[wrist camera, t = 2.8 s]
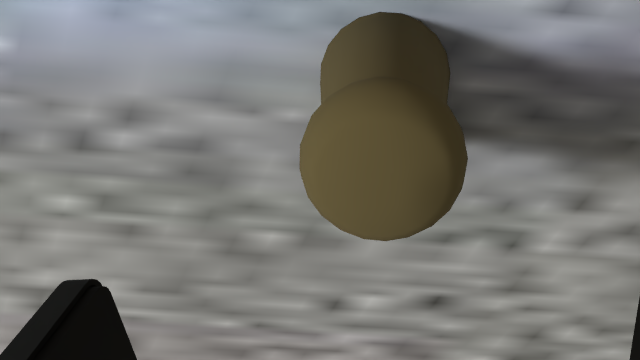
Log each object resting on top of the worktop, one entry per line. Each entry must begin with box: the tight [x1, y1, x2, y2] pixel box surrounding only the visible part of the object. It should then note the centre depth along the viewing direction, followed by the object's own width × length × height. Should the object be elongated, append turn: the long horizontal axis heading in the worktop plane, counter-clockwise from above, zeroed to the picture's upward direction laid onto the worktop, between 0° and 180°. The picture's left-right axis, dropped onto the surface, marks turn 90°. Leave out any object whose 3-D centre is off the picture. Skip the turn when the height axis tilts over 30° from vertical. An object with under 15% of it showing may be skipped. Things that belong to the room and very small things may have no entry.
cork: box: [300, 12, 468, 241], centre depth 20 cm, size 6×6×11 cm
